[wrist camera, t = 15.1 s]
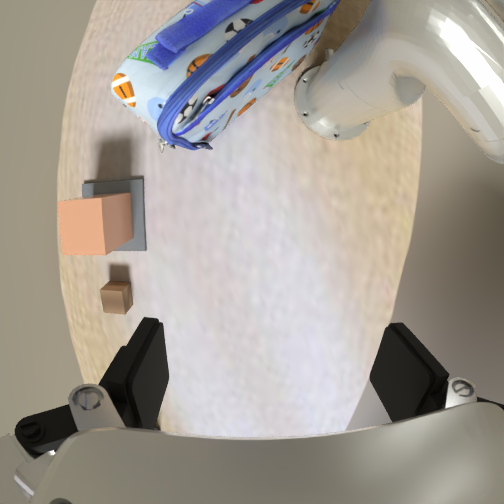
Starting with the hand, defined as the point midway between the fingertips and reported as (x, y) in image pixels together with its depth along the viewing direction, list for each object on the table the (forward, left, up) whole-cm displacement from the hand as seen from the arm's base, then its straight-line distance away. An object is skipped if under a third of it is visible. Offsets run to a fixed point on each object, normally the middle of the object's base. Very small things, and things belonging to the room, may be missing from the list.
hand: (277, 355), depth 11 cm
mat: (-1, -22, -32) cm, 39 cm away
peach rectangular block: (-1, -21, -31) cm, 38 cm away
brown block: (+12, -22, -32) cm, 40 cm away
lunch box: (-21, -3, -32) cm, 39 cm away
